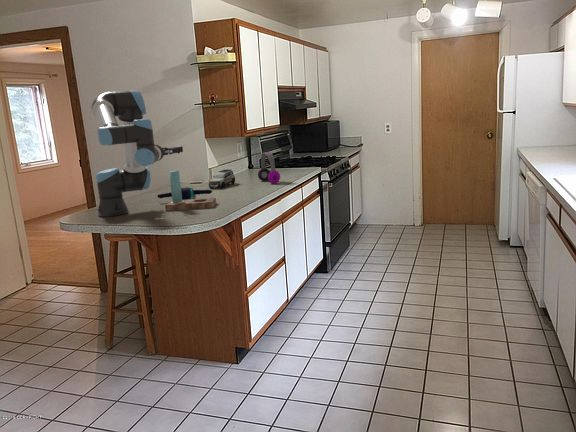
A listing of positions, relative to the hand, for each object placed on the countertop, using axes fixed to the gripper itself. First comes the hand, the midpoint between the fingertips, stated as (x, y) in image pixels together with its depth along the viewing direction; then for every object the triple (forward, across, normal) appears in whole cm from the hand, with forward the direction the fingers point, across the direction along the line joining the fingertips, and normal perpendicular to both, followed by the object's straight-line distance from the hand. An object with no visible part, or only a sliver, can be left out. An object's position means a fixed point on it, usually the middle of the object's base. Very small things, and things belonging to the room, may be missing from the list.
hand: (165, 148), depth 245 cm
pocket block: (+10, +7, -33) cm, 35 cm away
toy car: (+81, +12, -34) cm, 89 cm away
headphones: (+84, +43, -34) cm, 101 cm away
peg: (+10, 0, -28) cm, 30 cm away
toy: (+40, -3, -34) cm, 52 cm away
